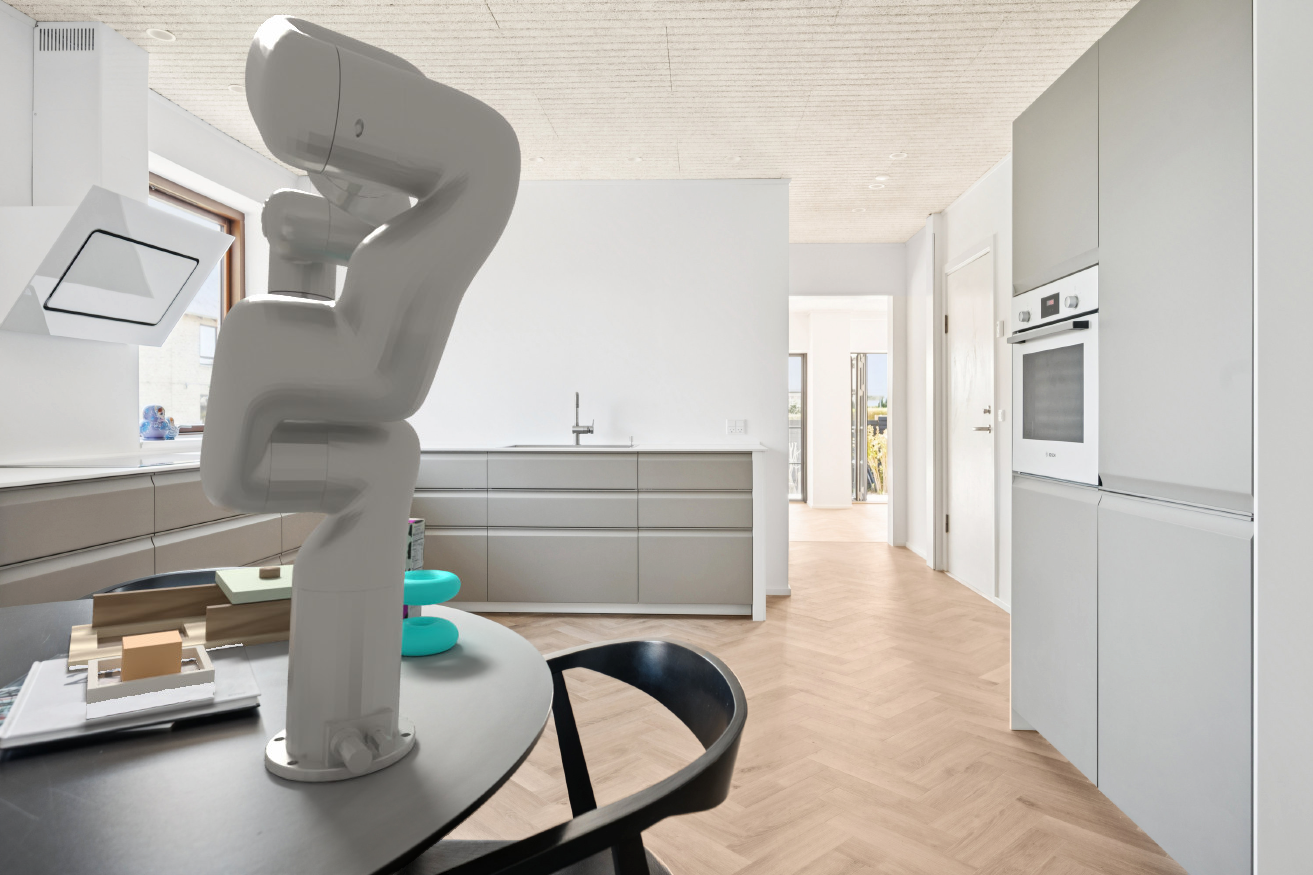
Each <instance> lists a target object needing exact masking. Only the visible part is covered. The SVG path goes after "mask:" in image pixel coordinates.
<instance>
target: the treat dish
mask: <svg viewBox="0 0 1313 875" xmlns="http://www.w3.org/2000/svg"><path fill="white" fill-rule="evenodd" d="M190 658H196V661H197V663H198V666H199V668H198V669H196V670H188V671H181V673H175V674H168V675H162V676H156V677H149V678H143V679H136V680H130V681H123V682H121V681H118V682H113V683H112V682H111V683H105V684H99V675H98V672H100V671H107V670H112V669H116V668H121V662H122V656H115V657H108V658H100V659H93V660H88V669H87V680H88V681H87V685H86V686H87V687H86V692H87V693H86V705H87V704H91V703H96V702H101V701H106V700H110V699H118V698H122V697H127V696H135V695H141V694H145V693H150V692H158V691H162V690H165V689H175V688H180V687H186V686H192V685H200V684H204V683H211V682H214V683H215V680H216V679H215V678H216V676H215V674H216V669H215V667H214V664H213V663H212V661H211V660H212V659H211V658H210V657H209V654H208V651H207V652H206V650H205V648H204V646H203V645H196V646H188V647H182V659H190ZM182 659H181V660H182ZM196 661H195V662H196ZM198 666H197V667H198ZM199 669H200V670H199Z"/></svg>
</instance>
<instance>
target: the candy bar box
mask: <svg viewBox="0 0 1313 875" xmlns="http://www.w3.org/2000/svg"><path fill="white" fill-rule="evenodd" d="M425 535H426V519H425V518H415V517H409V523H408V533H407V545H406V562H405V572H406V571H414V570H424V560H425V559H424V558H425V556H424V555H425V540H426V539H425V537H426V536H425ZM420 616H422V606H413V605H405V604H403V619H406V618H411V617H420Z"/></svg>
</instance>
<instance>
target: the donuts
mask: <svg viewBox="0 0 1313 875" xmlns="http://www.w3.org/2000/svg"><path fill="white" fill-rule="evenodd" d="M461 587H462V583H461V580H460V578H459V577H458V575H456V574H455V573H453V572H451V571H446V570H438V569H423V570H414V571H406V572H405V580H404V600H403V604H405V605H413V606H421V607H422V606H433V605H438V604H439V605H440V604H443V603H445V602H448V601H450V600H451V599H453V598H455V597H456V596H457V594H458V593H459V592H460V590H461ZM458 629H459V628H458V627H457V626H456V625H455V624H454V623H453V622H452V621H450V620H449V619H446V618H444V617H438V616H431V615H430V616H427V615H424V616H422V615H421V616H420V617H411V618H406V619H403V625H402V649H401V656H405V657H407V656H408V657H422V656H423V657H424V656H430V655H436V654H439V653H443V652H445V651H448V650H449V649H451V648H452V647H454V646H455V645H456V643H458V639H459V634H460V633H459V630H458Z"/></svg>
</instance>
